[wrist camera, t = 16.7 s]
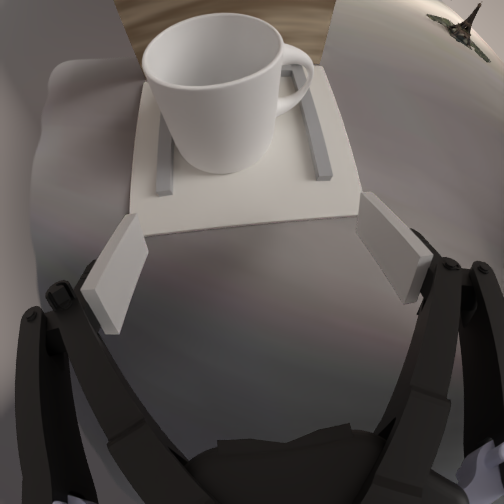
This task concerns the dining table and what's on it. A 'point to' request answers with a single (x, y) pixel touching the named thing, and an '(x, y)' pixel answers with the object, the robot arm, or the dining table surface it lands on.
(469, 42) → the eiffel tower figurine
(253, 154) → the mug
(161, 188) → the seat plate
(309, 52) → the overhang shelf
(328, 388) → the dining table surface
